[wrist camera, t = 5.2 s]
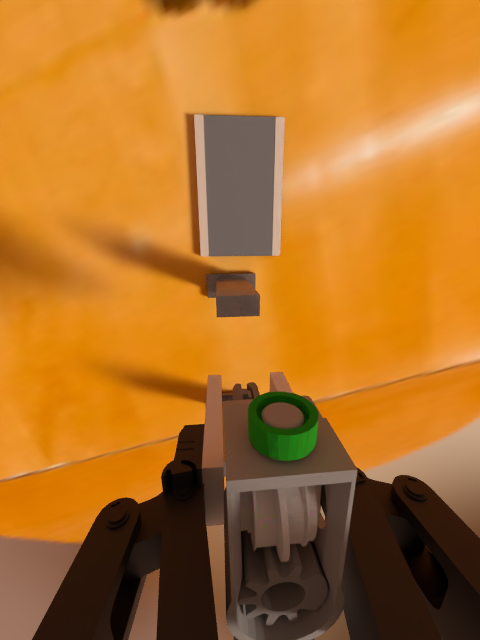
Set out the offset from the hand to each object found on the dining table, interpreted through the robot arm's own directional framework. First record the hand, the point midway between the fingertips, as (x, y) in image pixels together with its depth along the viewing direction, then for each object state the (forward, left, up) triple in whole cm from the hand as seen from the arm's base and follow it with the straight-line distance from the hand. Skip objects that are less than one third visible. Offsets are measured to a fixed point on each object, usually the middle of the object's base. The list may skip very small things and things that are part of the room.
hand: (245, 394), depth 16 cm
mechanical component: (0, 0, -1) cm, 1 cm away
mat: (-14, +1, -14) cm, 19 cm away
